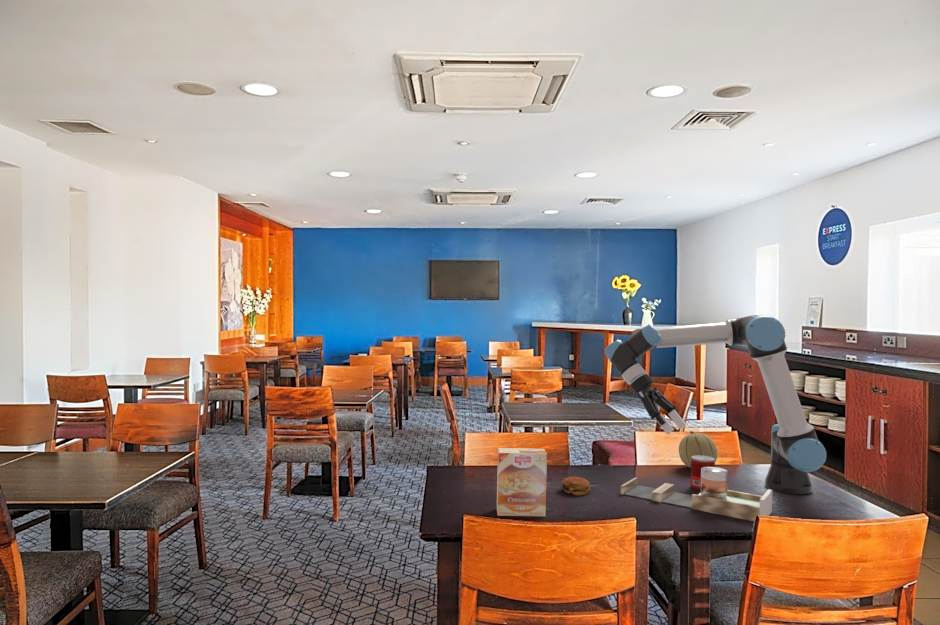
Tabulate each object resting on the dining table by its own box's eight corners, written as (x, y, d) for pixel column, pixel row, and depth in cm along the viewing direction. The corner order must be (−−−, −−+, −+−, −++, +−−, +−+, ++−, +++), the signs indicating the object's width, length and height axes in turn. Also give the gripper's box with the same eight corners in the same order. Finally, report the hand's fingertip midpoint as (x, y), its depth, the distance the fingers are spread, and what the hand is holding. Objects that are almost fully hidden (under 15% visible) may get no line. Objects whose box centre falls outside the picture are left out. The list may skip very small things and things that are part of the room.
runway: (620, 494, 213) (620, 481, 213) (634, 485, 224) (635, 473, 224) (759, 522, 187) (759, 507, 187) (767, 510, 198) (768, 496, 198)
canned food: (716, 492, 217) (716, 461, 217) (692, 490, 219) (692, 459, 219) (712, 486, 225) (712, 455, 225) (689, 484, 226) (689, 454, 226)
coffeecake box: (497, 516, 189) (498, 452, 188) (496, 508, 196) (497, 447, 195) (546, 517, 189) (547, 453, 188) (543, 509, 196) (544, 447, 196)
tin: (725, 495, 204) (726, 467, 204) (728, 502, 196) (729, 474, 196) (699, 492, 206) (699, 465, 206) (701, 499, 198) (702, 471, 198)
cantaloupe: (716, 476, 238) (716, 437, 238) (676, 471, 244) (676, 433, 244) (718, 467, 252) (719, 430, 251) (680, 463, 258) (681, 427, 258)
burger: (585, 487, 221) (585, 474, 221) (593, 495, 211) (593, 482, 211) (558, 488, 220) (558, 475, 220) (565, 496, 210) (565, 482, 210)
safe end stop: (721, 514, 193) (721, 492, 193) (731, 504, 204) (731, 482, 204) (763, 523, 186) (764, 500, 186) (771, 511, 197) (772, 489, 197)
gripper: (642, 383, 229) (680, 431, 221) (616, 388, 209) (656, 441, 200) (657, 371, 226) (696, 419, 217) (632, 374, 205) (674, 427, 197)
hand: (677, 429), depth 209 cm, fingers open, 13 cm apart
